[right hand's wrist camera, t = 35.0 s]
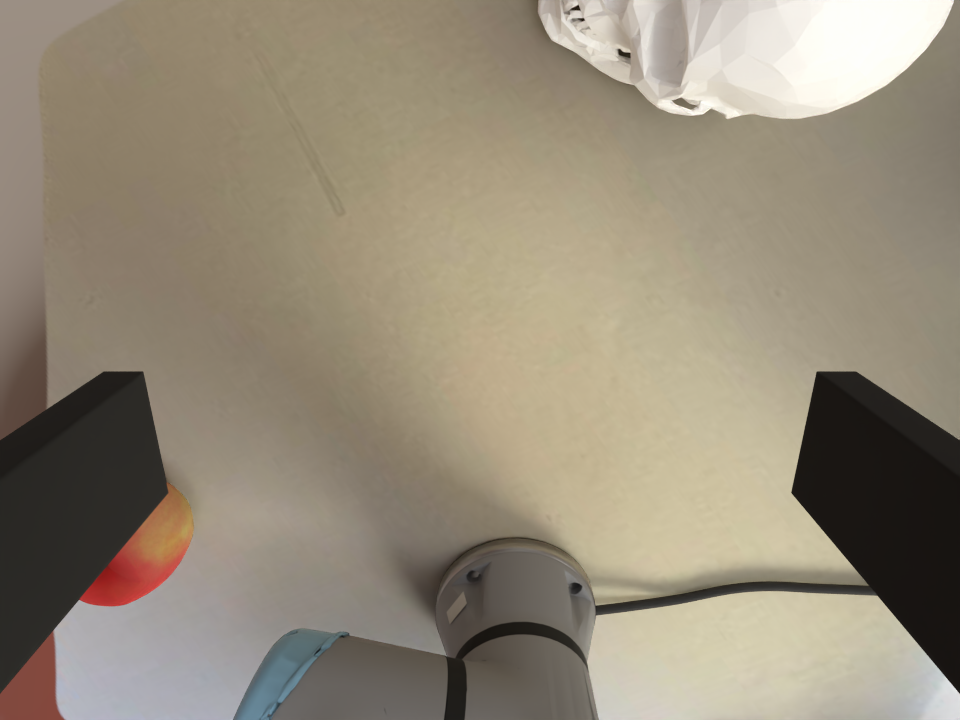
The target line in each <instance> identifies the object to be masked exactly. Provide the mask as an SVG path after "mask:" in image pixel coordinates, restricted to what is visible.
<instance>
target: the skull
mask: <svg viewBox="0 0 960 720" xmlns="http://www.w3.org/2000/svg"><path fill="white" fill-rule="evenodd" d="M953 2H954V0H538V14H539V16H540V18H541V21H542V23H543V25H544V28H545V30H546V32H547V33H548V35H549V37H550V39H551V40H552V41H554V42H556V43H558V44H560V45H562V46H564V47H566V48H568V49H569V50H571V51H573V52H575V53H577V54H578V55H579V56H581V57H582V58H583V59H585V60H586V61H587V62H589V63H590V64H591V65H593V66H594V67H595V68H597V69H598V70H599V71H601V72H603V73H605V74H606V75H608V76H610V77H612V78H613V79H615V80H618V81H620V82H623V83H627V84H631V85H635V86H636V88H637V89H638V90H639V91H640V92H641V93H642V94H643V95H644V96H645V97H646V98H647V100H649V101H650V102H651V103H652V104H654V105H655V106H656V107H657V108H660V109H662V110H664V111H667V112H669V113H674V114H681V115H688V116H692V115H701V114H704V113H705V112H707V111H708V110H709V109H714V110H716V111H718V112H719V113H721V114H722V115H723V116H724V117H725V118H727V119H730V118H733V117H737V116H740V115H747V114H757V115H761V116H766V117H773V118H780V119H801V118H806V117H811V116H816V115H821V114H826V113H829V112H832V111H834V110H837V109H839V108H842V107H845V106H847V105H850V104H852V103H855V102H857V101H859V100H861V99H863V98H864V97H866V96H868V95H870V94H872V93H873V92H875V91H877V90H879V89H880V88H882V87H884V86H886V85H887V84H888V83H890V82H891V81H892V80H893V79H895V78H896V77H897V76H898V75H900V74H901V73H902V72H903V71H904V70H906V69H907V68H908V67H909V66H910V65H911V64H912V63H913V62H914V61H915V60H916V59H917V58H918V57H919V56H920V55H921V54H922V53H923V52H924V51H925V50H926V49H927V47H928V46H929V45H930V43H931V42H932V40H933V39H934V38H935V36H936V35H937V34H938V32H939V31H940V30H941V28H942V27H943V25H944V23H945V21H946V19H947V17H948V15H949V12H950V10H951V7H952V5H953ZM577 5H579V7H580V10H578V11H577V10H571V8H573V7H575V6H577ZM578 18H584V19H585V21H583V22H582V21H580V20H578ZM619 49H621V50H622V51H623V52H629V53H631V58H628V57H624V56H621V55H619ZM680 97H681V98H683V99H684V100H686V101H687V102H688V103H689V104H693V105H698V106H697V107H695V108H693V109H691V110H690V109H687V108H684V107H681V106H678V105H676V104H675V103H673V102H672V101H671V100H676V99H678V98H680Z"/></svg>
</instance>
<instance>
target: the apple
mask: <svg viewBox="0 0 960 720" xmlns="http://www.w3.org/2000/svg"><path fill="white" fill-rule="evenodd" d="M166 483H167V482H166ZM167 487H168V492H169V493H168V494H167V495H166V497H165V498H164V499H163V500H162V501H161V503H160V504H159V505H158V506H157V507H156V508H155V510H154V511H153V512H152V513H151V514H150V516H149V517H148V518H147V519H146V520H145V522H144V523H143V524H142V525H141V526H140V528H139V529H138V530H137V531H136V532H135V534H134V535H133V536H132V537H131V538H130V539H129V541H128V542H127V543H126V544H125V545H124V547H123V548H122V549H121V550H120V551H119V553H118V554H117V555H116V556H115V557H114V559H113V560H112V561H111V562H110V563H109V564H108V566H107V567H106V568H105V569H104V570H103V572H102V573H101V574H100V575H99V576H98V578H97V579H96V580H95V581H94V582H93V584H92V585H91V586H90V587H89V588H88V590H87V591H86V592H85V593H84V594H83V595H82V597H81V598H80V599H79V600H81V601H83V602H85V603H88V604H93V605H99V606H120V605H125V604H128V603H130V602H132V601H135V600H137V599H139V598H141V597H143V596H144V595H146V594H148V593H149V592H151V591H153V590H154V589H155V588H157V587H158V586H159V585H161V584H162V583H163V582H164V581H165V580H166V579H167V578H168V577H169V576H170V575H171V574H172V573H173V571H174V570H175V569H176V567H177V566H178V565H179V563H180V562H181V560H182V558H183V557H184V555H185V553H186V551H187V549H188V547H189V544H190V541H191V539H192V535H193V529H194V525H193V517H192V512H191V508H190V505H189V503H188V501H187V500H186V498H185V497H184V496H183V495H182V494H181V493H180V492H179V491H178V490H177V489H176V488H175V487H174V486H172V485H171V484H169V483H167Z"/></svg>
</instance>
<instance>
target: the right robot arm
mask: <svg viewBox="0 0 960 720" xmlns="http://www.w3.org/2000/svg"><path fill="white" fill-rule="evenodd" d="M168 493H169V492H168V487H167V483H166V478H165V473H164V468H163V464H162V459H161V454H160V449H159V445H158V440H157V435H156V430H155V425H154V421H153V416H152V411H151V406H150V402H149V397H148V392H147V387H146V383H145V378H144V373H143V372H103V373H101V374H99V375H98V376H96V377H95V378H93V379H92V380H90V381H89V382H87V383H86V384H84V385H83V386H81V387H80V388H78V389H77V390H75V391H74V392H72V393H71V394H69V395H68V396H66V397H65V398H63V399H62V400H60V401H59V402H57V403H56V404H54V405H53V406H51V407H50V408H48V409H47V410H45V411H44V412H42V413H41V414H39V415H38V416H36V417H35V418H33V419H32V420H30V421H29V422H27V423H26V424H24V425H23V426H21V427H20V428H18V429H17V430H15V431H14V432H12V433H11V434H9V435H8V436H6V437H5V438H3V439H2V440H0V693H1V692H2V691H3V690H4V688H5V687H6V686H7V685H8V684H9V682H10V681H11V680H12V679H13V678H14V677H15V675H16V674H17V673H18V672H19V670H20V669H21V668H22V667H23V666H24V665H25V663H26V662H27V661H28V660H29V659H30V657H31V656H32V655H33V654H34V653H35V651H36V650H37V649H38V648H39V647H40V646H41V644H42V643H43V642H44V641H45V640H46V638H47V637H48V636H49V635H50V634H51V632H52V631H53V630H54V629H55V628H56V626H57V625H58V624H59V623H60V622H61V621H62V619H63V618H64V617H65V616H66V615H67V613H68V612H69V611H70V610H71V609H72V607H73V606H74V605H75V604H76V603H77V601H78V600H79V599H80V598H81V597H82V595H83V594H84V593H85V592H86V591H87V590H88V588H89V587H90V586H91V585H92V584H93V582H94V581H95V580H96V579H97V578H98V576H99V575H100V574H101V573H102V572H103V570H104V569H105V568H106V567H107V566H108V564H109V563H110V562H111V561H112V560H113V559H114V557H115V556H116V555H117V554H118V553H119V551H120V550H121V549H122V548H123V547H124V545H125V544H126V543H127V542H128V541H129V539H130V538H131V537H132V536H133V535H134V534H135V532H136V531H137V530H138V529H139V528H140V526H141V525H142V524H143V523H144V522H145V520H146V519H147V518H148V517H149V516H150V514H151V513H152V512H153V511H154V510H155V508H156V507H157V506H158V505H159V504H160V503H161V501H162V500H163V499H164V498H165V497H166V495H167V494H168ZM791 493H792V494H793V495H794V497H795V498H796V499H797V500H798V501H799V503H800V504H801V505H802V506H803V507H804V508H805V510H806V511H807V512H808V513H809V514H810V516H811V517H812V518H813V519H814V520H815V522H816V523H817V524H818V525H819V526H820V528H821V529H822V530H823V531H824V532H825V534H826V535H827V536H828V537H829V538H830V539H831V541H832V542H833V543H834V544H835V545H836V547H837V548H838V549H839V550H840V551H841V553H842V554H843V555H844V556H845V557H846V559H847V560H848V561H849V562H850V563H851V564H852V566H853V567H854V568H855V569H856V570H857V572H858V573H859V574H860V575H861V576H862V578H863V579H864V580H865V581H866V582H867V584H868V585H869V586H860V585H836V584H810V583H794V582H748V583H737V584H730V585H723V586H718V587H713V588H708V589H703V590H698V591H694V592H689V593H684V594H679V595H673V596H666V597H660V598H653V599H645V600H638V601H630V602H623V603H615V604H607V605H598V606H595V601H594V597H593V593H592V588H591V585H590V582H589V579H588V577H587V575H586V573H585V572H584V570H583V569H582V567H581V566H580V565H579V564H578V563H577V562H576V561H575V560H574V559H573V558H572V557H571V556H570V555H568V554H567V553H565V552H564V551H562V550H560V549H559V548H557V547H554V546H552V545H550V544H547V543H544V542H540V541H536V540H531V539H521V538H512V539H502V540H496V541H492V542H488V543H485V544H482V545H480V546H478V547H475V548H473V549H472V550H470V551H468V552H466V553H465V554H464V555H462V556H461V557H460V558H458V559H457V560H456V561H455V562H454V563H453V564H452V565H451V566H450V568H449V569H448V570H447V571H446V573H445V575H444V576H443V578H442V580H441V583H440V585H439V588H438V593H437V603H436V625H437V629H438V632H439V634H440V637H441V640H442V643H443V646H444V649H445V652H446V655H447V657H446V656H443V655H439V654H434V653H429V652H425V651H420V650H415V649H410V648H406V647H401V646H396V645H392V644H387V643H382V642H377V641H373V640H368V639H363V638H359V637H354V636H350V635H349V633H346V632H338V633H329V632H322V631H316V630H310V629H296V630H293V631H290V632H289V633H287V634H285V635H284V636H282V637H281V638H280V639H279V640H278V641H277V642H276V643H275V644H274V645H273V647H272V648H271V649H270V651H269V652H268V654H267V655H266V657H265V658H264V660H263V661H262V663H261V665H260V666H259V668H258V670H257V672H256V673H255V675H254V677H253V679H252V681H251V683H250V685H249V687H248V689H247V691H246V693H245V695H244V697H243V699H242V701H241V703H240V705H239V708H238V710H237V712H236V714H235V716H234V719H233V720H599V719H598V714H597V709H596V705H595V700H594V695H593V690H592V685H591V680H590V676H589V671H588V666H587V659H588V654H589V649H590V644H591V639H592V633H593V628H594V624H595V618H596V615H603V614H611V613H619V612H627V611H634V610H642V609H649V608H657V607H663V606H670V605H676V604H682V603H687V602H692V601H697V600H702V599H706V598H711V597H716V596H721V595H727V594H734V593H742V592H754V591H789V592H806V593H827V594H854V595H875V596H878V597H879V598H880V599H881V600H882V601H883V603H884V604H885V605H886V606H887V607H888V609H889V610H890V611H891V612H892V613H893V615H894V616H895V617H896V618H897V619H898V621H899V622H900V623H901V624H902V625H903V626H904V628H905V629H906V630H907V631H908V632H909V634H910V635H911V636H912V637H913V638H914V640H915V641H916V642H917V643H918V644H919V646H920V647H921V648H922V649H923V650H924V651H925V653H926V654H927V655H928V656H929V657H930V659H931V660H932V661H933V662H934V663H935V665H936V666H937V667H938V668H939V669H940V671H941V672H942V673H943V674H944V675H945V677H946V678H947V679H948V680H949V681H950V682H951V684H952V685H953V686H954V687H955V688H956V690H957V691H958V692H959V693H960V440H958V439H957V438H955V437H954V436H952V435H951V434H949V433H948V432H946V431H945V430H943V429H942V428H940V427H939V426H937V425H936V424H934V423H933V422H931V421H930V420H928V419H927V418H925V417H924V416H922V415H921V414H919V413H918V412H916V411H915V410H913V409H912V408H910V407H909V406H907V405H906V404H904V403H903V402H901V401H900V400H898V399H897V398H895V397H894V396H892V395H891V394H889V393H888V392H886V391H885V390H883V389H882V388H880V387H879V386H877V385H876V384H874V383H873V382H871V381H870V380H868V379H867V378H865V377H864V376H862V375H861V374H859V373H857V372H817V373H816V378H815V383H814V387H813V392H812V397H811V402H810V406H809V411H808V416H807V421H806V425H805V430H804V435H803V440H802V445H801V449H800V454H799V459H798V464H797V468H796V473H795V478H794V483H793V487H792V492H791Z"/></svg>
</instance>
